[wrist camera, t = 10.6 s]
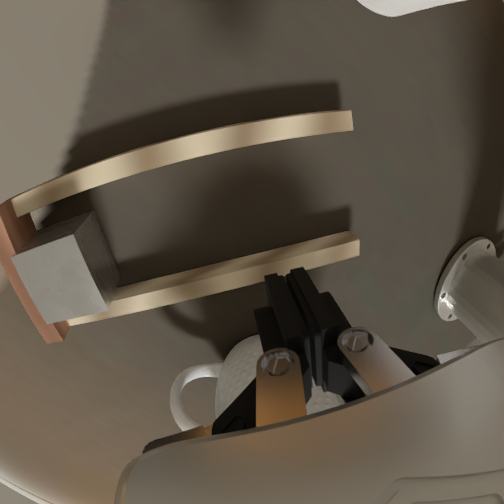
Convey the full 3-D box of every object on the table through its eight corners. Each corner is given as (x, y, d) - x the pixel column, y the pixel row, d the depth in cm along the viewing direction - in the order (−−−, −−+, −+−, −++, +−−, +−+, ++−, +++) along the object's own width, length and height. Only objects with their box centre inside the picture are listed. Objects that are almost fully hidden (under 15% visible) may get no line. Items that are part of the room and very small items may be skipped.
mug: (164, 380, 30) (167, 488, 18) (178, 302, 25) (181, 434, 14) (288, 388, 34) (322, 478, 22) (325, 320, 30) (385, 420, 18)
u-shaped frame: (338, 109, 21) (365, 111, 17) (348, 245, 26) (370, 266, 23) (6, 200, 18) (-18, 216, 14) (59, 315, 24) (47, 343, 20)
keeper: (94, 209, 21) (73, 234, 16) (120, 274, 23) (108, 310, 19) (37, 230, 20) (10, 257, 16) (65, 289, 23) (46, 324, 18)
